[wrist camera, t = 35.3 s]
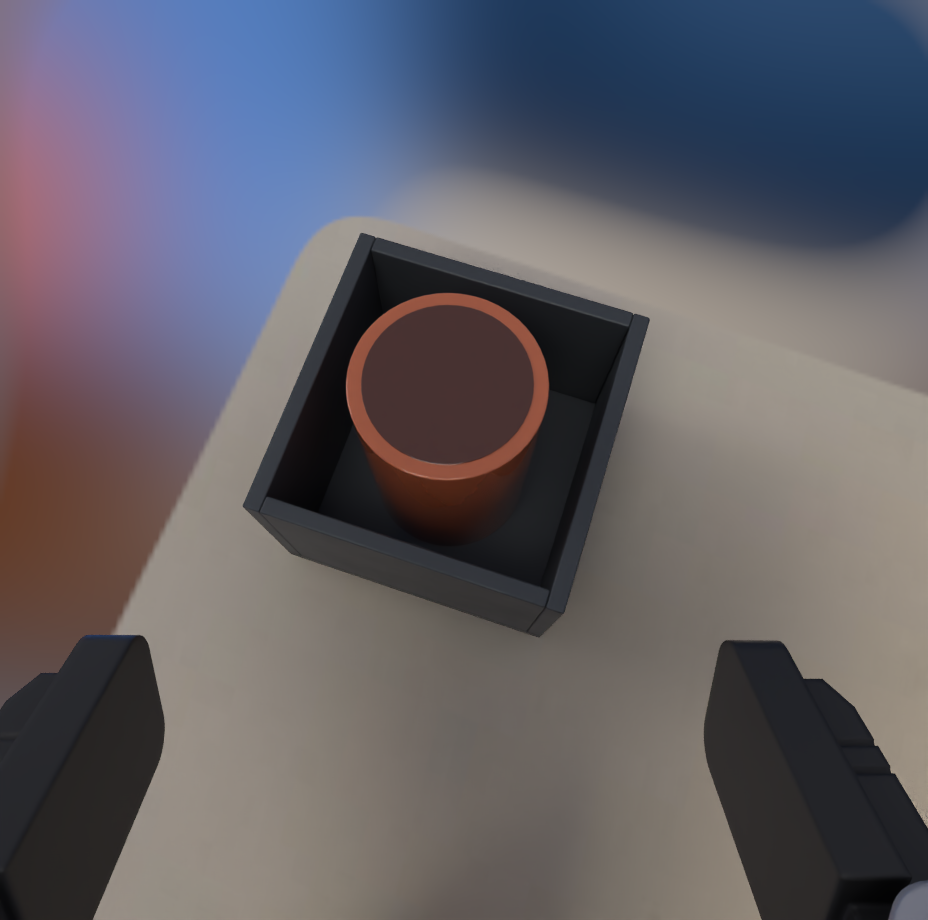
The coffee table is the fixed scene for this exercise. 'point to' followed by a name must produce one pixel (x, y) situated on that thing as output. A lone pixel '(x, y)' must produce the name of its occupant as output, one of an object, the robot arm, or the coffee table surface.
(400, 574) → the tub
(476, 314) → the cup
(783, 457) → the coffee table surface
